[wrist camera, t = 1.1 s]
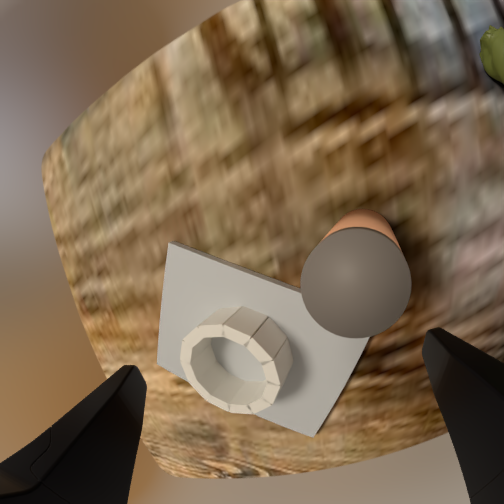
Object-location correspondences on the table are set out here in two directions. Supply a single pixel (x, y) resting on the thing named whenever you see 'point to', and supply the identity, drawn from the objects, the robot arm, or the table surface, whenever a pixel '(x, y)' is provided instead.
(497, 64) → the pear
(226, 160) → the table surface
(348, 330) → the plug
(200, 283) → the plate with ring collar
